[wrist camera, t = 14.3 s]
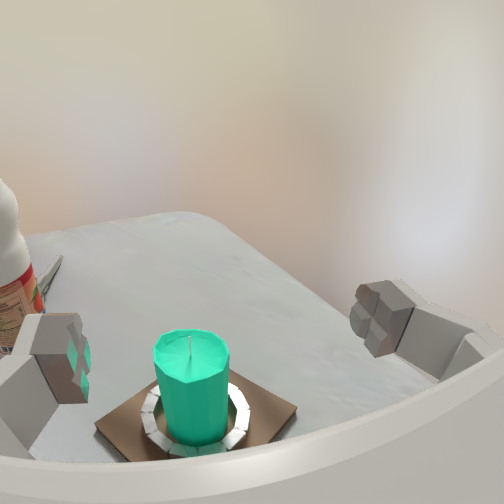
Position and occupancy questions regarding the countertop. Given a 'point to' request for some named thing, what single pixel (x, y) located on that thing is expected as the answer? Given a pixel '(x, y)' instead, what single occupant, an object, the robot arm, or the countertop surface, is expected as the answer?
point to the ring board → (140, 450)
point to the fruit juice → (14, 274)
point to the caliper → (48, 277)
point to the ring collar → (183, 451)
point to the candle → (193, 384)
